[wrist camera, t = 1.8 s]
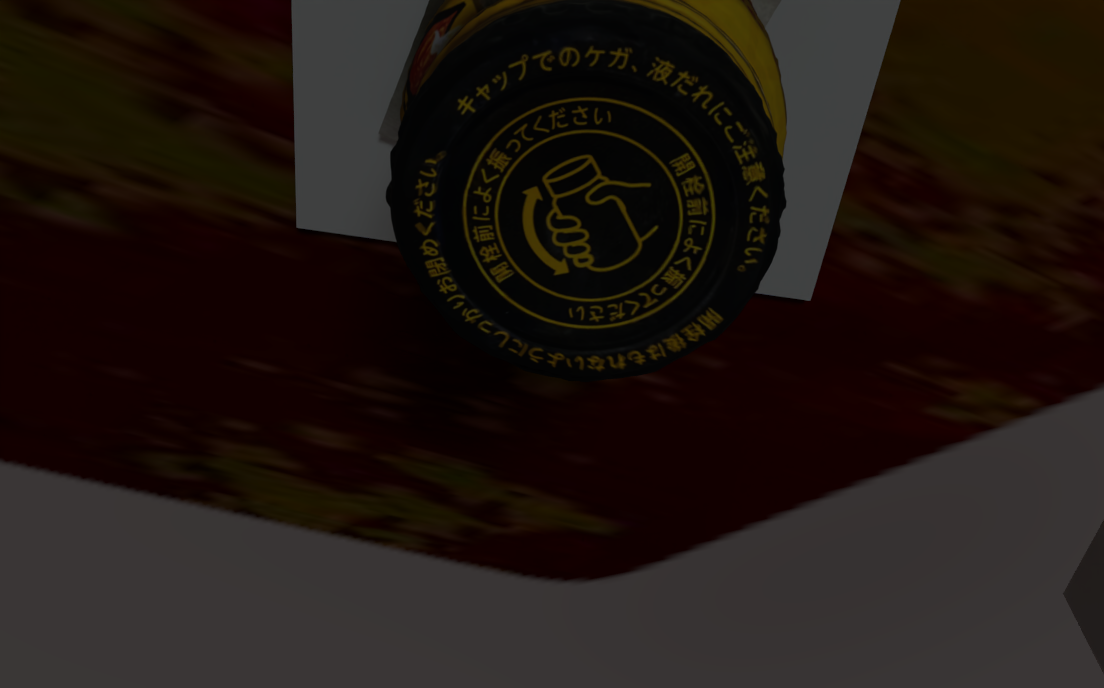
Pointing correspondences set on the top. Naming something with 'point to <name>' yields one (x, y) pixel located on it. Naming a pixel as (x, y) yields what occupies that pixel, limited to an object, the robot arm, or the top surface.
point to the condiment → (589, 175)
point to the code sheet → (385, 42)
